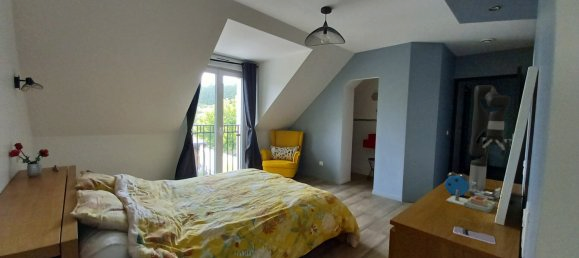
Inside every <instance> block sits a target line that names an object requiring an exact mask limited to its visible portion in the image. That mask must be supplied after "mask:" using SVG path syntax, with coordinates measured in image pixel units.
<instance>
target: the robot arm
mask: <svg viewBox="0 0 579 258" xmlns="http://www.w3.org/2000/svg"><path fill="white" fill-rule="evenodd" d="M473 99H474V100H473V102H474V103H473V113H472V120H471V121H472V122H471V123H472V124H471V126H472V127H471V135H470V144H469V149H468V151H469V155H470V156H474V157H480V158H477V159H473V160H471V161H470V169H469V178H468V181H469V182H470V181H473V182H475V183H476V184H473V187H474V189H475V188H476V189H478V190H479V191H481V190H482V188H483V189H484V190H485V188H486V178H487V169H488V168H487V167H488V156H489V151H490V146H499V147H500V148H501V157H504V156H505V155H506V150H510V149H511V139H510V138H505V139H504V131H505V116H506V113H507V109H508V108H509V105H510V103H511V97H510V96H508V95H501V94H500V93H498V91H497V90H496V87H495V86H494V85H491V84H487V85H486V84H485V85H483V84H482V85H481V84H480V85H476V86H475V87H474V94H473ZM481 99H485V100H486V105H487V106H488V107H489V108H500V109H499V110H494V111H490V112H489V114H488V113H487V111H486V110H485V108H484V106H483V105H482V101H481ZM485 130H486V132H487V133H486V137H483V136H481V135H482V134H483V133H484V132H485ZM480 136H481V137H480ZM479 137H480V138H479ZM478 140H479V141H478ZM485 140H486V141H487V142H485V143H484V141H485ZM477 141H478V142H479V143H477ZM503 142H505V143H506V147H505V145H504V144H503ZM489 145H490V146H489ZM470 188H472V186H471V185H470ZM470 188H469V189H470ZM485 191H486V190H485Z"/></svg>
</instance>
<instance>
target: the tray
mask: <svg viewBox="0 0 579 258" xmlns="http://www.w3.org/2000/svg"><path fill="white" fill-rule="evenodd" d="M473 197H474V196H471V197H469V198H467V199H468V200H467V201H465V202H464V205H463V207H465V208H468V209H472V210H476V211H479V212H483V213H487V214H489V213H491V212H492V210H493V209H494V208H495V207H496V201H492V200H488V203H487V207H482V206H478V205H474V204H471V199H472V198H473Z"/></svg>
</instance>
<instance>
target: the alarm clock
mask: <svg viewBox="0 0 579 258" xmlns="http://www.w3.org/2000/svg"><path fill="white" fill-rule="evenodd" d="M468 181H469V176H468V175H467V174H465V173H461V174H457V173H456V172H453V171H452V172H451V171H450V172H449V173H448V174H447V179H445V182H444V187H445V189H446V191H447V192H448V193H449V194H451V195H452V196H456V190H460V195H459V197H460V196H461V197H462V196H464V195H466V194H467V193H469V192H468V190H469V189H470V184H469V182H468Z"/></svg>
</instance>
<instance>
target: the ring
mask: <svg viewBox="0 0 579 258" xmlns="http://www.w3.org/2000/svg"><path fill="white" fill-rule="evenodd" d="M472 197H473V198H472V199H471V204H474V205H478V206H482V207H487V203H488V201H489V198H485V197H480V196H476V195H475V196H472Z"/></svg>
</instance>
